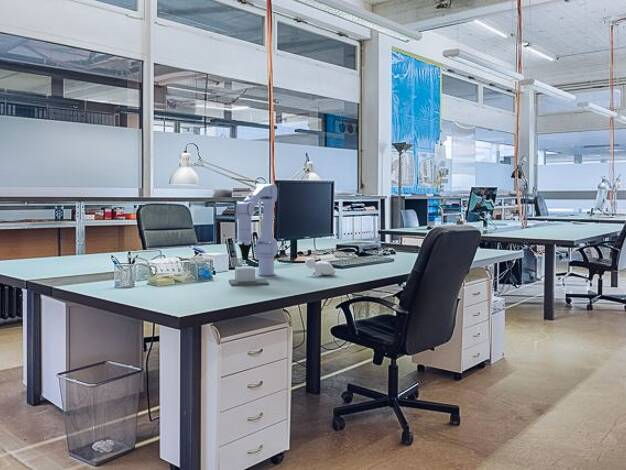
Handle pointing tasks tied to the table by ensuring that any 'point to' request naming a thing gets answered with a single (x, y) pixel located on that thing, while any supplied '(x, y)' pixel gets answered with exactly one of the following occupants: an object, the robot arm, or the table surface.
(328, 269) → the white animal figurine
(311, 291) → the table surface
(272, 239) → the robot arm
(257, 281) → the mat
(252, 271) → the small box
